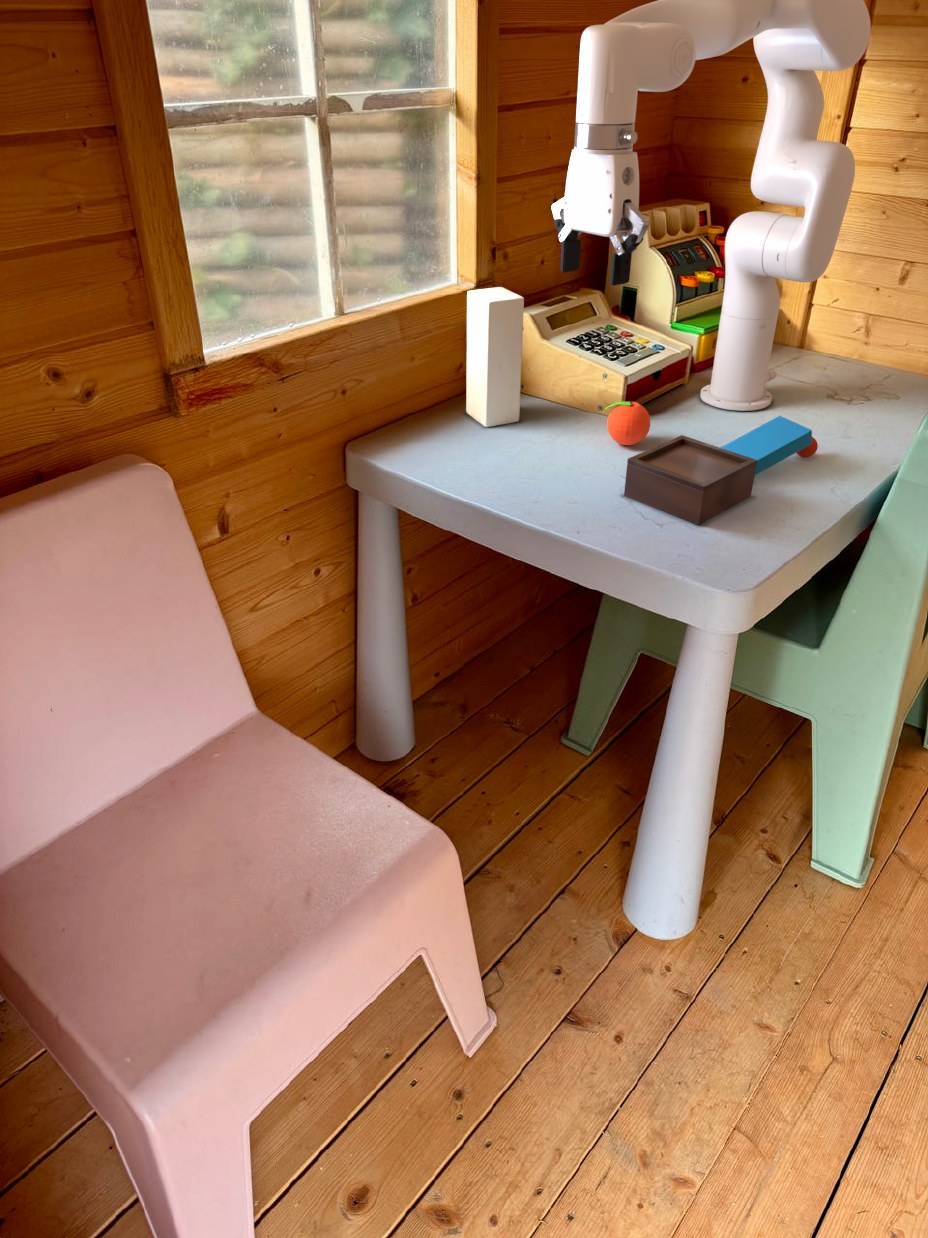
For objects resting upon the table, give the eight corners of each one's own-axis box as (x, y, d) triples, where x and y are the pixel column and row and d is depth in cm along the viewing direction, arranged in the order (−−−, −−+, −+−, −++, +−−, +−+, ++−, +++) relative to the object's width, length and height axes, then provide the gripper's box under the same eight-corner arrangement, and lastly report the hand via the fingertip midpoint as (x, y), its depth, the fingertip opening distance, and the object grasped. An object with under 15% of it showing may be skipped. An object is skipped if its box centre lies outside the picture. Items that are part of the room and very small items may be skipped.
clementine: (596, 448, 147) (599, 406, 143) (602, 433, 153) (605, 392, 149) (645, 453, 145) (650, 411, 141) (650, 437, 151) (654, 396, 147)
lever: (739, 510, 138) (830, 458, 142) (736, 471, 134) (831, 419, 138) (709, 492, 143) (798, 443, 147) (706, 455, 139) (798, 405, 143)
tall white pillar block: (524, 421, 157) (528, 296, 146) (486, 428, 155) (487, 301, 143) (502, 406, 163) (504, 285, 152) (465, 413, 161) (465, 290, 149)
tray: (677, 470, 140) (681, 434, 137) (750, 497, 132) (757, 459, 129) (623, 495, 132) (627, 458, 129) (698, 525, 124) (704, 486, 121)
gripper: (675, 142, 113) (659, 284, 123) (578, 131, 125) (570, 262, 134) (633, 146, 109) (620, 293, 119) (537, 135, 121) (532, 270, 130)
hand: (593, 277), depth 126 cm, fingers open, 9 cm apart
